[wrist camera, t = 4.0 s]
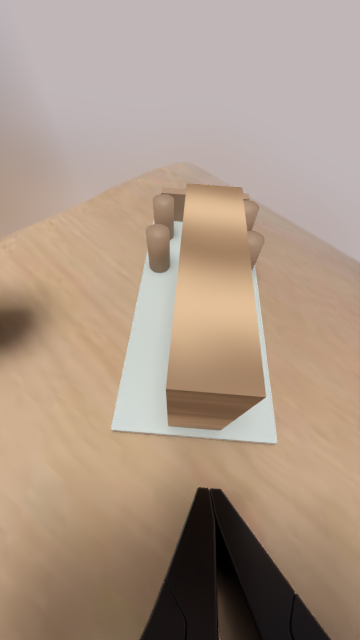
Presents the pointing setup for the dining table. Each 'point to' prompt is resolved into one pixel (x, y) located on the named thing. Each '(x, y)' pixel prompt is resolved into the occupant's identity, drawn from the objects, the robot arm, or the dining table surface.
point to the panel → (155, 336)
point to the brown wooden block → (213, 315)
